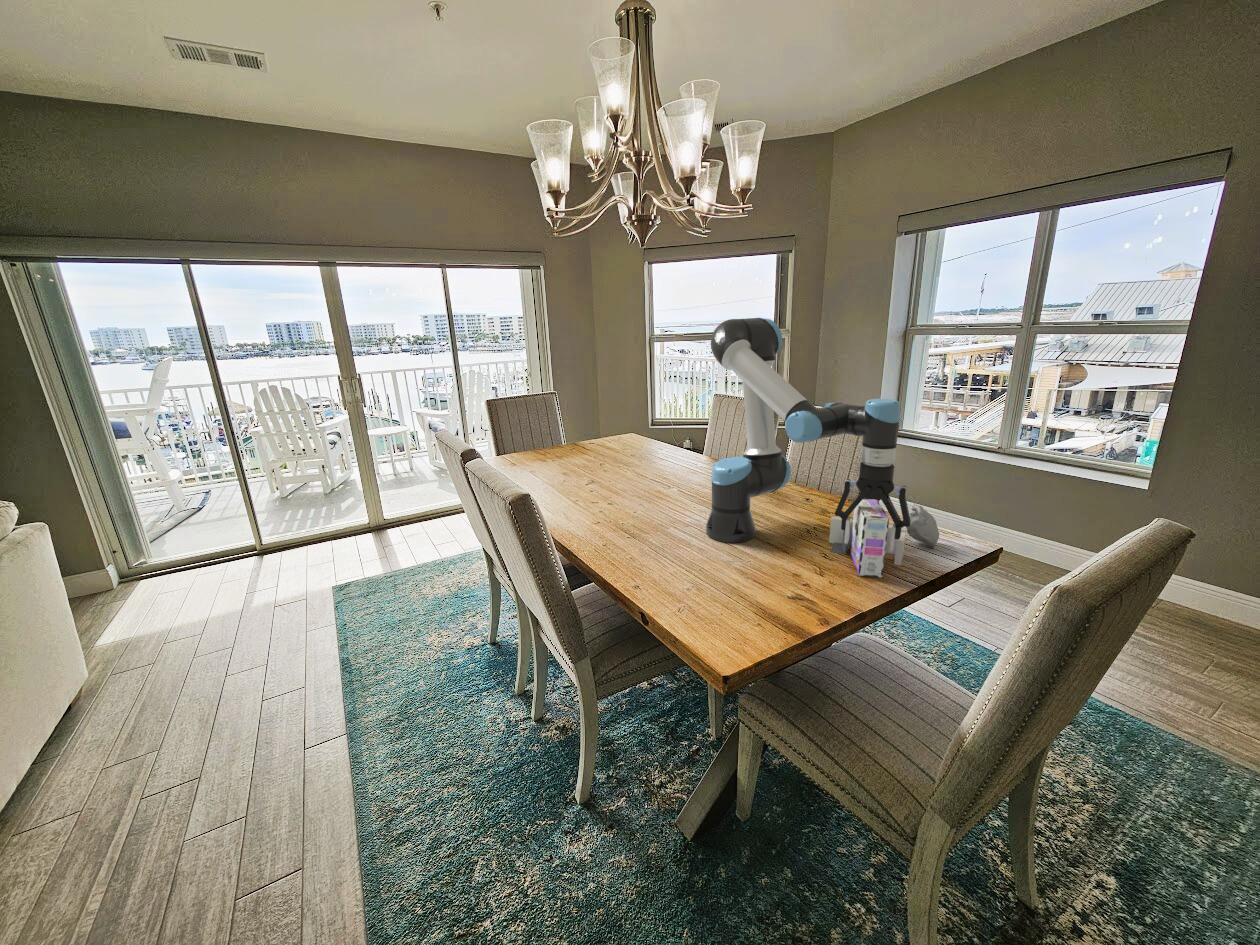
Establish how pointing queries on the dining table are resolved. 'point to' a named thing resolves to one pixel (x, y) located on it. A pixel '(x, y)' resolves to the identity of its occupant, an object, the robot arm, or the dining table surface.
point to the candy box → (869, 538)
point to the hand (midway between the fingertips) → (868, 545)
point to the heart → (923, 526)
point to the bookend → (841, 545)
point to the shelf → (898, 550)
